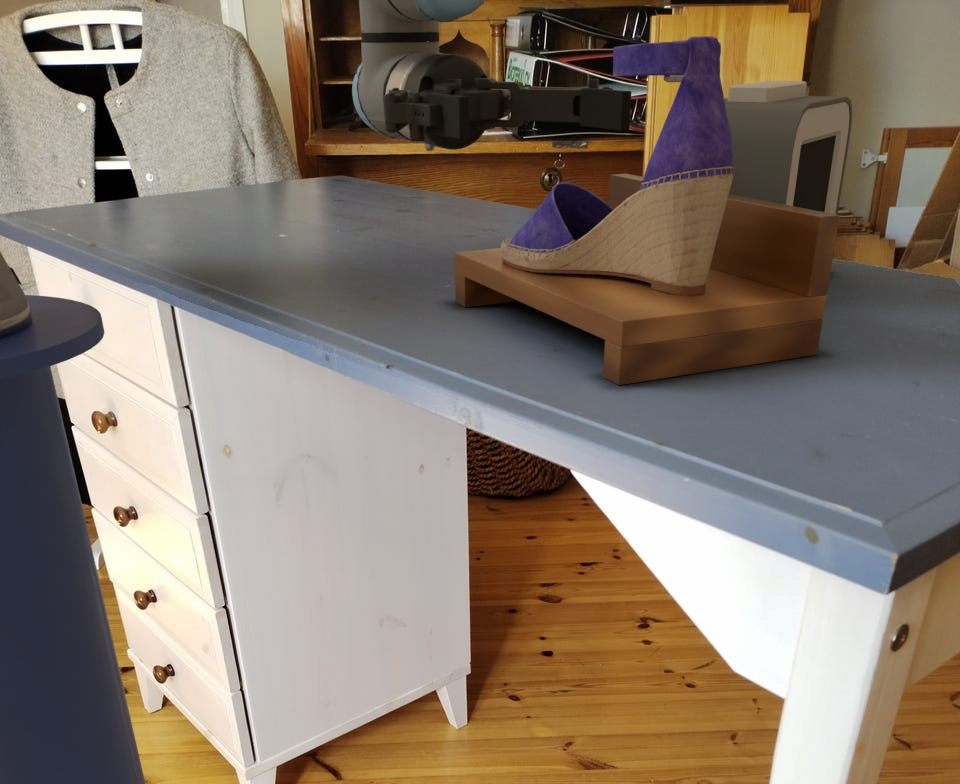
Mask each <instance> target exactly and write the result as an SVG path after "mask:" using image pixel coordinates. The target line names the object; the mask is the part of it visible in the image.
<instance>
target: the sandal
mask: <svg viewBox="0 0 960 784" xmlns="http://www.w3.org/2000/svg"><path fill="white" fill-rule="evenodd" d="M721 44H722V43H721V42H720V41H719V39H718V38H717V37H715V36H713V35H709V36H707V35H705V36H703V35H701V36H690V37H688V38H687V39H685V40H673V41H658V42H647V43H637V44H636V43H635V44H628V45H627V44H626V45H621V46H614V47H613V49H612V51H613V54H612V55H613V56H612V60H613V61H612V77H614V78H615V77H637V76H638V77H639V76H645V77H647V76H648V77H649V76H653V77H654V76H660V77H661V76H663V81H664V82H665V83H679V86H678V88H677V90H676V94H675V96H674V99H673V102H672V104H671V107H670V109H669V111H668V114H667V116H666V118H665V120H664V123H663V125H662V128H661V131H660V133H659V136H658V137H657V140H656V143H655V145H654V148H653V150H652V153H651V155H650V157H649V160H648V163H647V166H646V169H645V171H644V174H643V177H644V178H643V181H642V183H641V187H640V190H639V191H638V192H636V193H635V194H633V195H632V196H630V197H628V198H627V199H626V200H625V201H623V202H622V203H621V204H620V205H619V206H618V207H616V208H615V209H613V208H611V207H610V206H609V203H607V202H606V201H605V200H604V199H602V198H601V197H600V196H598V195H596V194H595V193H593V192H592V191H590V190H588V189H587V188H584V187H582V186H580V185H578V184H575V183H572V182H568V181H567V182H564V181H560V182H558V183H556V184H554V186H553V187H552V188H551V189H550V191H549V193H548V194H547V196H546V197H545V198H544V200H543V201H542V202H541V204H540V205H539V206H538V208H537V209H536V210H535V212H534V213H533V214H532V215H531V217H530V218H529V219H528V220H527V221H526V222H525V223H524V225H523V226H521V227H520V228H519V229H518V230H517V231H516V233H514V235H513V236H511V237H507V238H505V239H503V240H502V241H501V244H500V248H501V254H502V260H503V262H505V263H506V264H508V265H510V266H512V267H515V268H518V269H521V270H526V271H530V272H539V273H573V274H601V275H611V276H619V277H626V278H632V279H637V280H641V281H645V282H648V283H651V288H652V289H655V290H658V291H663V292H667V293H671V294H675V295H681V296H694V295H699V294H703V293H705V287H706V281H707V277H708V273H709V269H710V265H711V261H712V257H713V252H714V248H715V244H716V240H717V237H718V233H719V229H720V225H721V222H722V218H723V214H724V210H725V207H726V203H727V199H728V195H729V191H730V188H731V184H732V180H733V142H732V135H731V130H730V126H729V122H728V117H727V113H726V107H725V101H724V99H725V96H724V91H723V84H722V81H721V54H722V45H721Z"/></svg>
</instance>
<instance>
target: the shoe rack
mask: <svg viewBox="0 0 960 784" xmlns="http://www.w3.org/2000/svg"><path fill="white" fill-rule="evenodd" d="M643 178H644V176H640V175H635V174H629V173H616V174H610V175H609V188H608V189H609V191H608V205H609V206H610V207H611V208H613V209H615V208H616V207H618V206H619V205H620V204H621V203H622V202H623V201H625V200H626V199H627V198H628V197H630V196H632V195H633V194H635V193H636V192H638V191H639V190H640V187H641V183H642V181H643ZM840 217H841V216H840V214H838V215H836V214H831V213H826V212H820V211H815V210H810V209H805V208H800V207H795V206H790V205H784V204H779V203H774V202H769V201H764V200H759V199H754V198H748V197H743V196H738V195H733V194H729V195H728V199H727V203H726V207H725V210H724V214H723V218H722V222H721V225H720V229H719V233H718V237H717V240H716V244H715V248H714V252H713V257H712V261H711V265H710V269H709V273H708V277H707V281H706V287H705V293H703V294H699V295H694V296H681V295H675V294H671V293H667V292H663V291H658V290H655V289H652V288H651V283H648V282H645V281H641V280H637V279H632V278H626V277H619V276H611V275H601V274H573V273H539V272H530V271H526V270H521V269H518V268H515V267H512V266H510V265H508V264H506V263H505V262H503V260H502V254H501V247H495V248H486V249H473V250H464V251H463V250H462V251H455V252H454V285H455V286H454V293H455V297H454V298H455V303H456V304H458V305H460V306H462V307H464V308H470V307H471V308H472V307H481V306H490V305H496V304H497V305H498V304H505V303H515V302H520V303H522V304H525V305H526V306H528V307H531V308H533V309H535V310H537V311H539V312H542V313H544V314H546V315H549V316H551V317H553V318H555V319H557V320H560V321H562V322H564V323H567V324H569V325H571V326H572V327H575V328H577V329H579V330H582V331H584V332H586V333H589V334H590V335H593V336H596V337H598V338H600V339H602V340H604V353H603V371H602V372H603V373H602V377H603V379H605V380H607V381H609V382H612V383H613V384H615V385H617V386H623V385H628V384H635V383H643V382H649V381H655V380H661V379H667V378H675V377H682V376H687V375H693V374H701V373H707V372H714V371H720V370H724V369H725V370H726V369H733V368H740V367H745V366H752V365H758V364H765V363H771V362H778V361H784V360H791V359H797V358H803V357H810V356H811V357H812V356H816V355H817V356H818V353H819V345H820V341H821V340H820V339H821V335H822V327H823V319H824V315H825V309H826V304H827V303H826V302H827V297H828V292H829V285H830V278H831V272H832V266H833V259H834V254H835V248H836V242H837V235H838V229H839V223H840Z"/></svg>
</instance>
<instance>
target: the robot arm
mask: <svg viewBox="0 0 960 784" xmlns="http://www.w3.org/2000/svg"><path fill="white" fill-rule="evenodd" d="M485 2H486V0H358V6H359V16H360V17H359V18H360V19H359V20H360V21H359V22H360V33H361V34H360V37H361V44H360V46H361V47H360V49H361V63H360V64H359V66H358V67H357V69H356V72H355V74H354V76H353V81H352V88H351V95H352V96H351V97H352V101H353V106H354V108H355V110H356V111H355V112H356V113H357V115H358V116H359V118H360V119H361V121H362V122H364V124H365V125H367V127H369V128H370V129H372V130H373V131H375V132H377V133H379V134H381V135H382V136H384V137H385V136H386V137H388V138H389V139H392V140H393V139H397V140H403V141H409V142H414V143H415V142H416V143H420V144H424V150H425V151H427V152H432V151H434V150H435V148H441V149H444V150H451V151H454V150H461V149H465V148H468V147H469V146H472V145H473V144H474V143H476V142H477V141H478V140H479V139H480V138H481V137H482V136H483V135H484V133H485V132H486V131H489V130H493V129H496V128H518V127H521V126H523V125H524V123H525V122H536V123H537V122H541V123H579V126H582V127H589V128H596V129H603V130H611V131H618V132H628V131H630V125H631V124H630V122H631V105H632V91H631V90H622V89H614V88H613V87H609V86H602V87H600V79H599V78H591V79H588V87H563V86H562V87H561V86H559V87H558V86H537V85H536V86H535V85H534V86H533V85H531V84H524V82H521V81H497V80H496V79H495V78H492V77H488V76H487V74H486V72H485V71H484V69H483V68H482V67H481V65H479V64H478V63H477V62H476V61H475V60H473V59H472V58H470V57H469V56H466V55H463V54H459V53H443V52H440V32H439V23H452V22H453V21H458V20H459V19H461V18H463V17H465V16H469V15H471V14H473V13H474V12H475V11H476V10H478V9H479V8H480V7H481V6H483V5H484V4H485ZM509 115H510V116H509ZM508 116H509V119H503V118H506V117H508ZM21 286H23V283H22V282H21V281H20V279H19V277H18V275H17V274H16V271H15V270H14V268H13V267H10V266H9V264H8V262H7V261H6V259H5V257H4V255H3V254H2V252H1V251H0V339H1V338H5V337H8V336H10V335H13V334H16V333H18V332H20V331H22V330H24V329H25V328H27V327H28V326H29V325H30V324H31V323H32V317H31V312H30V308H29V304H28V302H27V299H26V296H25V295H26V294H25V292H24V290H23V288H22V287H21Z"/></svg>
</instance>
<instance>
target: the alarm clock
mask: <svg viewBox="0 0 960 784" xmlns="http://www.w3.org/2000/svg"><path fill="white" fill-rule="evenodd" d="M807 85H808V83H807V82H806V80H805V81H804V80H766V81H765V80H764V81H759V82H750V83H749V82H748V83H742V84H732V85H730V86H729V87H728V94H727V97H724V101H725V107H726V113H727V117H728V122H729V126H730V130H731V135H732V142H733V180H732V184H731V188H730V191H729V194H733V195H738V196H743V197H748V198H754V199H759V200H764V201H769V202H774V203H779V204H784V205H790V206H795V207H800V208H805V209H810V210H815V211H820V212H826V213H831V214H836V215H839V208H840V201H841V196H842V189H843V182H844V177H845V169H846V164H847V157H848V152H849V146H850V139H851V133H852V121H853V107H852V100H851V99H850V97H848V96H836V95H835V96H831V95H828V96H827V95H806V92H807Z"/></svg>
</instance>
